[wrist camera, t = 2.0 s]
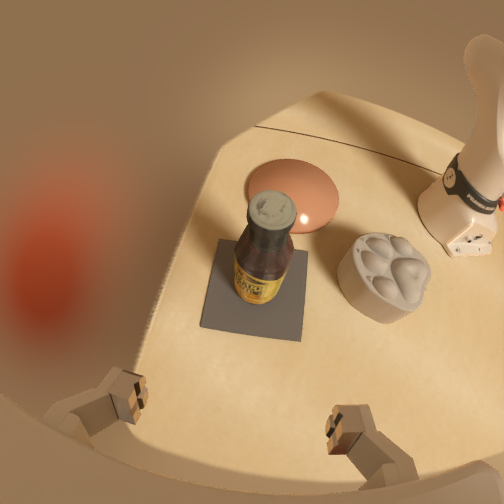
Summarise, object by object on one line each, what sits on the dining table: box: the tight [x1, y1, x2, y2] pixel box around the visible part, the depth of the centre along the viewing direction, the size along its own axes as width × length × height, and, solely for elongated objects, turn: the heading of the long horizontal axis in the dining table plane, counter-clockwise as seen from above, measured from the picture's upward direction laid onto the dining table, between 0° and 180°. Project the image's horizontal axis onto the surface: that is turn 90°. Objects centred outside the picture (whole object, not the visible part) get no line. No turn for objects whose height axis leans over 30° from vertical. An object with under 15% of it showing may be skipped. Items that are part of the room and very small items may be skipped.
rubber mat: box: [200, 239, 308, 342], centre depth 40 cm, size 14×14×1 cm
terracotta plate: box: [248, 159, 339, 234], centre depth 48 cm, size 16×16×1 cm
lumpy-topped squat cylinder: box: [337, 233, 431, 324], centre depth 37 cm, size 10×13×9 cm
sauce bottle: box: [234, 190, 297, 305], centre depth 31 cm, size 6×6×20 cm
